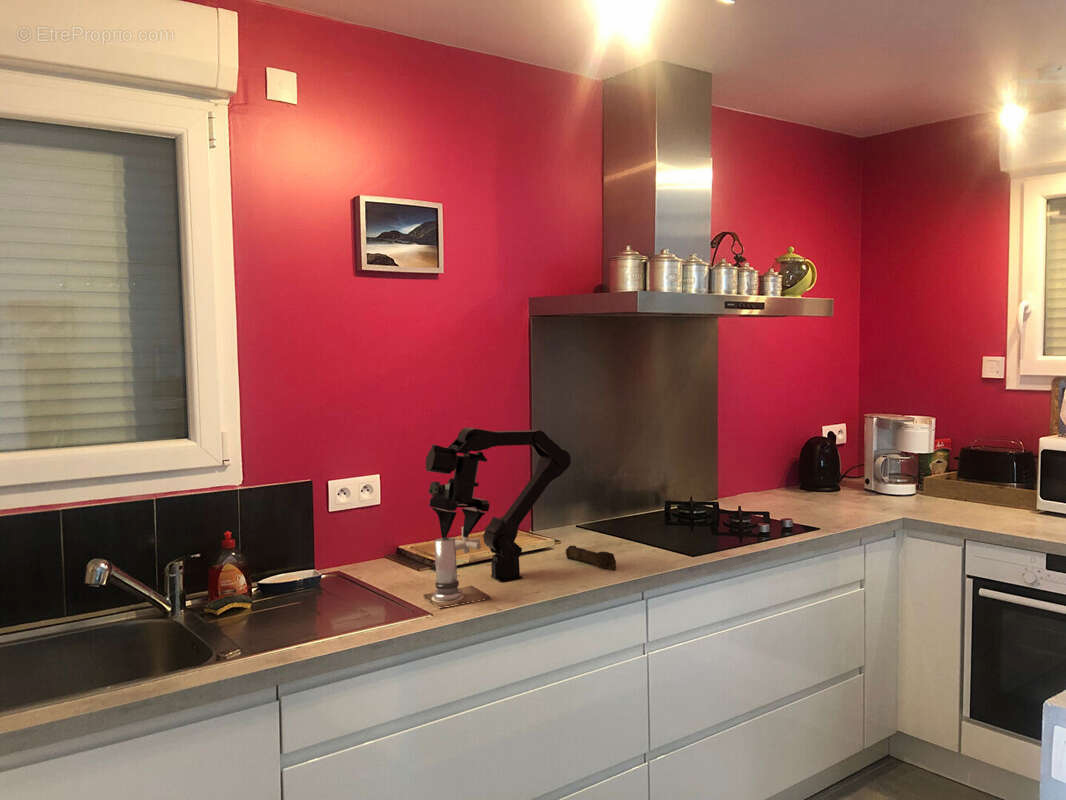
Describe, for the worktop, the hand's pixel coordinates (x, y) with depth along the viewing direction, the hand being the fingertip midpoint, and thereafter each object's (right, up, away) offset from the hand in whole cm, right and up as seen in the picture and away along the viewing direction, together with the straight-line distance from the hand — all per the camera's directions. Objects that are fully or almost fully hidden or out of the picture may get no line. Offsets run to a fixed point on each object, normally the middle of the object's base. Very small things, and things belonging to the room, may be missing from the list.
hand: (454, 537), depth 218 cm
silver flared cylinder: (-1, -13, -11) cm, 17 cm away
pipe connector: (+1, -11, +26) cm, 28 cm away
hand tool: (+37, -10, +17) cm, 42 cm away
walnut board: (+1, -13, -9) cm, 16 cm away
